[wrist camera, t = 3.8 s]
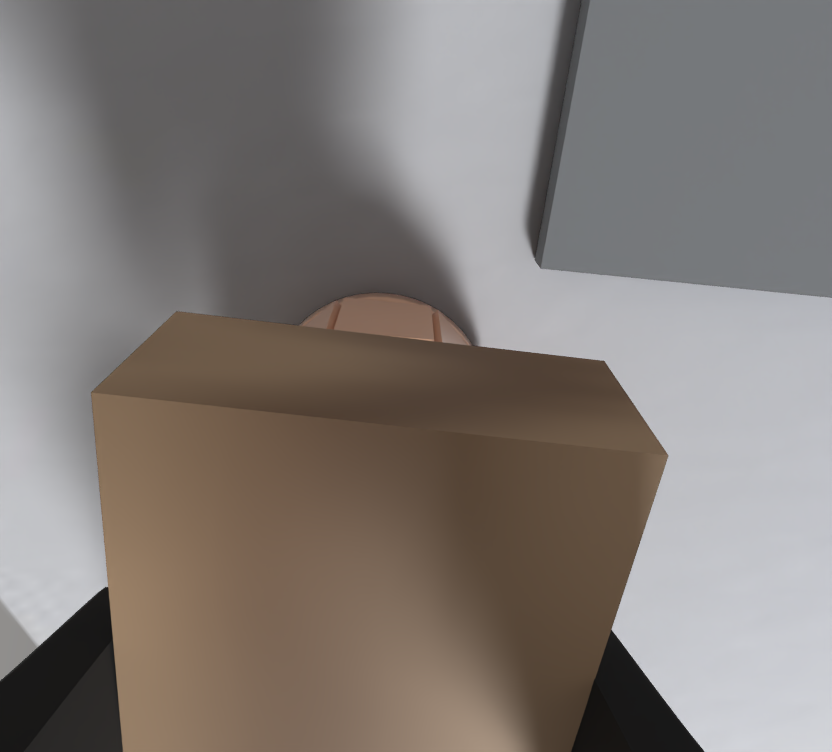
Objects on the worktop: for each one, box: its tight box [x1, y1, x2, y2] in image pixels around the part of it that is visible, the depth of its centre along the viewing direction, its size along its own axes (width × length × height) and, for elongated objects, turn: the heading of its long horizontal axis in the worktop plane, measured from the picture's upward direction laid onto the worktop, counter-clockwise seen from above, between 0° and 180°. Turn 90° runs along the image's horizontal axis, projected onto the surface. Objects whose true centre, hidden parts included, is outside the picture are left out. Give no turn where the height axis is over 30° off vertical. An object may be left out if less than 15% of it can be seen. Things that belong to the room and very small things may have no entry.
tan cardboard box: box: [91, 311, 668, 752], centre depth 9 cm, size 6×8×2 cm, turn 173°
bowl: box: [299, 293, 472, 346], centre depth 16 cm, size 6×6×3 cm
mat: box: [535, 0, 832, 298], centre depth 14 cm, size 10×10×1 cm
